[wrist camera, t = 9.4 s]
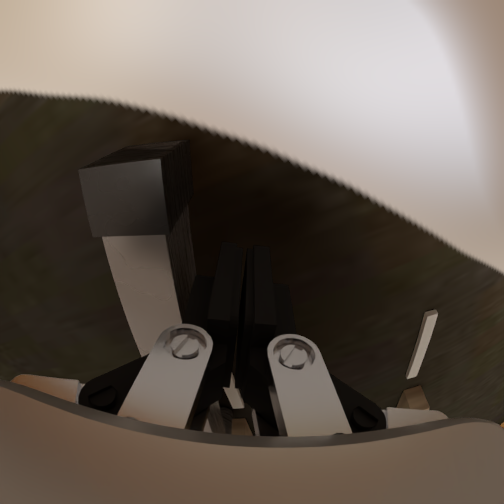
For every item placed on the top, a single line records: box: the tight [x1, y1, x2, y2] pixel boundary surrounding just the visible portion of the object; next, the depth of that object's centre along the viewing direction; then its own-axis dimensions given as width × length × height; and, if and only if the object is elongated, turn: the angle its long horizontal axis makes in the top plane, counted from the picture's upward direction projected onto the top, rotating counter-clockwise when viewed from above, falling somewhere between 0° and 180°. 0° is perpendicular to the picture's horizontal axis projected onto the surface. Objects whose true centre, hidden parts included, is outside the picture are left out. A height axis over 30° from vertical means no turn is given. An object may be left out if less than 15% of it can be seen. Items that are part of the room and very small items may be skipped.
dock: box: [232, 385, 429, 436], centre depth 26 cm, size 11×20×3 cm, turn 100°
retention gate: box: [79, 140, 233, 435], centre depth 15 cm, size 2×25×8 cm, turn 1°
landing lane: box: [223, 310, 438, 409], centre depth 21 cm, size 8×17×1 cm, turn 100°
